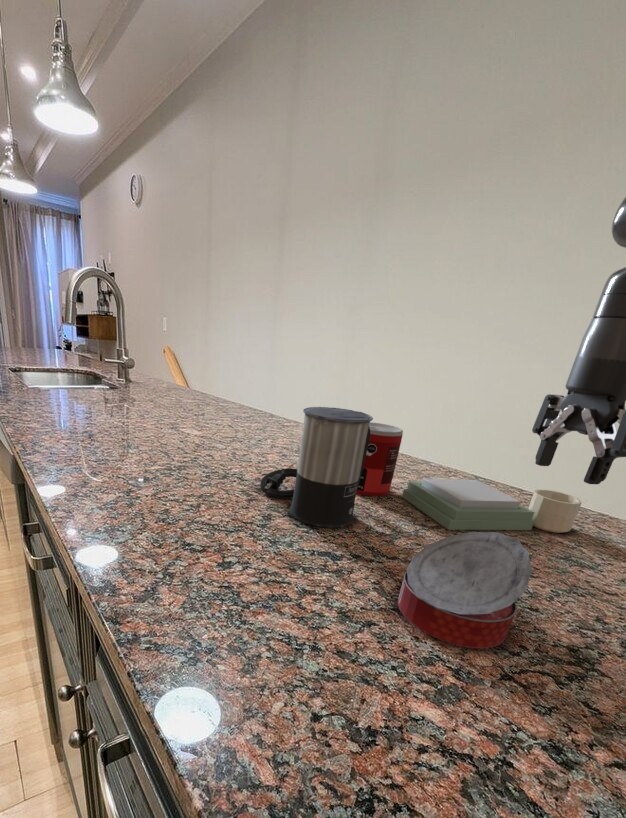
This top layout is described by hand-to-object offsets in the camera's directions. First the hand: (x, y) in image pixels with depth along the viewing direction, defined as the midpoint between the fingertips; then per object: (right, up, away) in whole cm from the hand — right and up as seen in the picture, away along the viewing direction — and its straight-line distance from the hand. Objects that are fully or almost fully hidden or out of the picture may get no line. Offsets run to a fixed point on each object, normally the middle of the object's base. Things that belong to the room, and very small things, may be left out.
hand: (565, 473), depth 65 cm
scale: (-12, -6, +6) cm, 15 cm away
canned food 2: (-27, -16, -22) cm, 38 cm away
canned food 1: (-26, -2, +12) cm, 29 cm away
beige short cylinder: (-1, -8, +3) cm, 9 cm away
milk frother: (-38, -5, +2) cm, 39 cm away
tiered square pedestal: (-12, -3, +5) cm, 13 cm away
